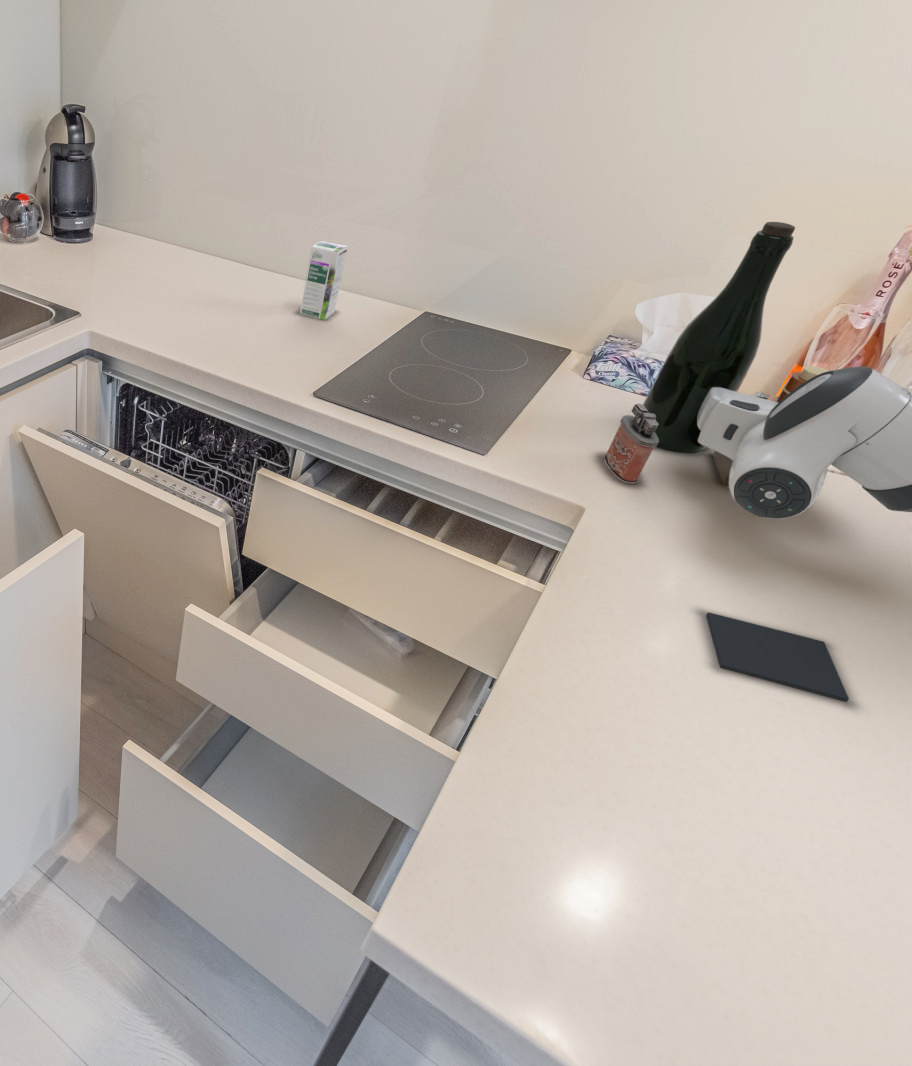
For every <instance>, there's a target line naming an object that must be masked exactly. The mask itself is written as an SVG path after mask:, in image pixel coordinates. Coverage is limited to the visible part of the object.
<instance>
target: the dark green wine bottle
mask: <svg viewBox="0 0 912 1066" xmlns="http://www.w3.org/2000/svg"><path fill="white" fill-rule="evenodd" d="M795 229H796V226H795V225H793V224H790V223H786V222H781V221H767V222H765V224H764V225H763V226H762V229H761V230H758V231H757V232H756V233H755V234H754V235H753V236H752V238H751V239H750V242H749V246H748V248H747V250H746V252H745V254H744V256H743V258H742V259H741V261H740V263H739V265H738V266H737V268H736V269H735V271H734V273H733V274H732V276H731V278H730V279H729V280H728V282H727V283H726V285H725V286H724V287H723V288H722V290H721V291H720V292H719V293H718V295H716V296H715V298H714V299H713V300H712V301H711V302H710V303H708V305H706V306H705V307H704V308H703V309H702V310H701V311H700V312H699V313H698V314H697V315H696V316H695V317H694V318H693V319H692V320H691V321H689V323H688V324H687V325H686V327H684V329H683V330H682V332H681V333H680V334H679V336H678V337H677V339H676V340H675V343H674V344H673V346H672V348H671V350H670V351H669V353H668V355H667V357H666V358H665V360H664V362H663V364H662V366H661V368H660V370H659V371H658V374H657V376H656V377H655V379H654V381H653V384H652V385H651V386H650V389H649V391H648V393H647V395H646V397H645V398H644V400H643V402H642V403H641V404H642V405H643V406H644V407H645V408H646V409H647V410H648V412H649V413H652V414H655V415H656V422H657V423H658V426H657V428H656V430H655V431H654V432H655V433H656V435H657V437H658V439H659V442H658V444H657V446H656V447H655V448H659V449H663V450H666V451H669V452H670V451H671V452H675V453H685V454H694V453H699V452H702V451H703V450H705V449H706V448H707V447H706V446H703V445H701V444H700V443H699V442H698V438H699V435H700V432H701V430H700V429H699V428H698V426H697V416H698V412H699V409H700V407H701V405H702V403H703V401H704V399H705V397H706V396H707V394H708V392H709V390H710V389H711V388H714V387H721V388H725V389H728V390H732V391H736V392H739V390H740V387H741V386H742V384H743V382H744V380H745V378H746V376H747V375H748V372H749V370H750V369H751V367H752V364H753V362H754V360H755V358H756V356H757V353H758V350H759V347H760V343H761V338H762V329H763V318H764V309H765V303H766V299H767V295H768V292H769V290H770V287H771V284H772V282H773V280H774V278H775V276H776V273H777V271H778V269H779V267H780V265H781V264H782V261H783V260H784V258H785V256H786V254H787V253H788V251H789V250H790V249H791V247H792V245H793V243H794V236H793V233H794V232H795Z"/></svg>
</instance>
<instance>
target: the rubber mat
mask: <svg viewBox="0 0 912 1066" xmlns="http://www.w3.org/2000/svg"><path fill="white" fill-rule="evenodd" d="M706 620H707V624H708V628H709V631H710V634H711V639H712V643H713V646H714V650H715V653H716V658H717V661H718V665H719V668H720V669H724V670H728V671H732V672H735V673H739V674H742V675H746V676H749V677H753V678H756V679H760V680H764V681H768V682H771V683H775V684H779V685H782V686H786V687H790V688H793V689H796V690H797V689H798V690H801V691H805V692H808V693H812V694H814V695H815V694H816V695H820V696H823V697H827V698H830V699H834V700H838V701H841V702H844V703H847V702H848V701H849V699H850V698H849V695H848V693H847V691H846V689H845V686H844V685H843V682H842V680H841V677H840V675H839V673H838V671H837V668H836V666H835V663H834V661H833V659H832V656H831V654H830V653H829V649H828V648H827V646H826V643H825V641H822V640H820V639H815V638H811V637H808V636H803V635H799V634H795V633H793V632H792V633H791V632H787V631H783V630H780V629H776V628H772V627H768V626H765V625H759V624H756V623H753V622H748V621H744V620H740V619H736V618H733V617H728V616H726V615H725V616H724V615H720V614H717V613H712V612H709V611H708V612H707V613H706Z"/></svg>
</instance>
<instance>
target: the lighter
mask: <svg viewBox="0 0 912 1066" xmlns="http://www.w3.org/2000/svg"><path fill="white" fill-rule="evenodd" d="M642 404H643V403H636V404H633V406H632V408H631V413H632V414H633V415H630V414H629V415H628V414H627V415H626V414H625V415H623V416H622V417H621V419H620V421H619V422H620V425H619V426H618V429H617V430H616V433H615V435H614V436H613V439H612V441H611V443H610V445H609V447H608V450H607V451H606V453H605V454H604V455H603V456H602V460H603V463H604V465H605V467H606V469H607V470H608V471H609V472H610V474H611V475H612V476H613V477H614V478H615V479H616V480H617V481H619V482H620V483H622V484H625V485H633V486H634V485H637V484H638V482H639V477H640V475H641V473H642V471H643V469H644V468H645V466H646V464H647V462H648V459H649V458H650V456H651V455H652V452H653V450H654V449H655V448H657V447H656V446H657V444H658V442H659V439H658V437H657V435H656V433H655V432H654V431H655V430H656V428H657V426H658V423H657V422H656V415H655V414H652V413H649V412H648V410H647V409H646V408H645V407H644V406H643V405H642Z"/></svg>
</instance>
